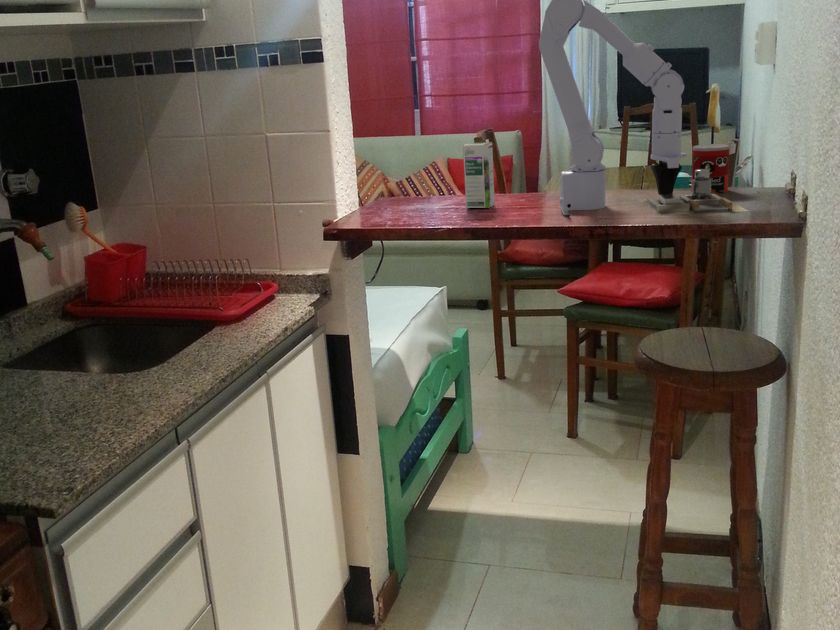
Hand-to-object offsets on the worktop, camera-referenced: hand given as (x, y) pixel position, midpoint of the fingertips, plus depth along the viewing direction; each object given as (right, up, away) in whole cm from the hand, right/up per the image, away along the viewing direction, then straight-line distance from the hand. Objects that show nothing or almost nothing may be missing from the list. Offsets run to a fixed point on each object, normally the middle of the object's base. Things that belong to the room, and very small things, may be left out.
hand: (665, 199), depth 170 cm
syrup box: (-37, +1, +19) cm, 41 cm away
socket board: (+5, -3, -2) cm, 6 cm away
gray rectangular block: (0, -2, -3) cm, 4 cm away
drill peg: (+7, -1, -1) cm, 7 cm away
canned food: (+14, +2, +13) cm, 19 cm away
